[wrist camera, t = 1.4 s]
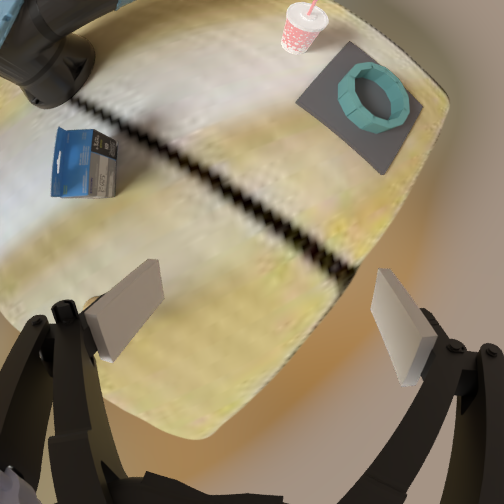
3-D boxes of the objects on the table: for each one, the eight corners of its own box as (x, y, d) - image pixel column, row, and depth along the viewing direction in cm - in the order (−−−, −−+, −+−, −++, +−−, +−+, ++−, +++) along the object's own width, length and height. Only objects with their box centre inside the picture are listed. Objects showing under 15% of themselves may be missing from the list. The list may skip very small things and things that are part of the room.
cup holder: (295, 102, 37) (303, 90, 32) (347, 43, 36) (358, 30, 31) (381, 175, 40) (397, 172, 35) (420, 108, 39) (435, 101, 34)
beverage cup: (308, 62, 36) (338, 16, 22) (272, 51, 35) (290, 0, 22) (314, 38, 35) (342, -8, 22) (280, 27, 35) (298, -23, 21)
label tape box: (115, 198, 37) (74, 195, 25) (93, 199, 37) (48, 198, 25) (119, 141, 36) (82, 120, 24) (96, 144, 35) (55, 125, 23)
